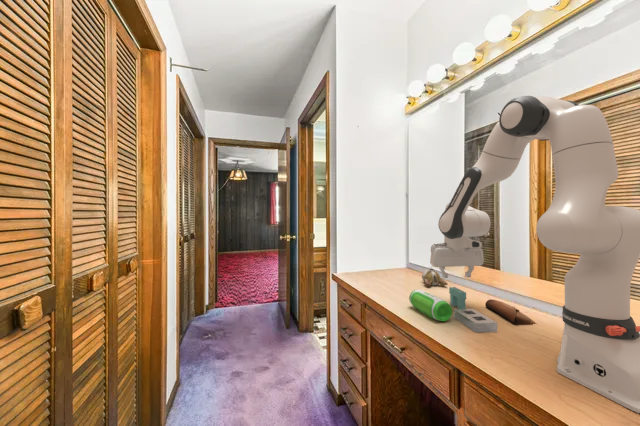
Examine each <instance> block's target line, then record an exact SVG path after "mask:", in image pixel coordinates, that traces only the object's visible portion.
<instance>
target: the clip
mask: <svg viewBox="0 0 640 426" xmlns="http://www.w3.org/2000/svg"><path fill="white" fill-rule="evenodd" d="M448 293H449V297H450V299H449V300H450V303H449V305H450V306H451V307H457V309H467V308H466V300H467V292H465V291H464V290H461V289H460V288H457V287H456V286H454V287H453V286H449V291H448Z"/></svg>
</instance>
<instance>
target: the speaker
mask: <svg viewBox="0 0 640 426" xmlns="http://www.w3.org/2000/svg"><path fill="white" fill-rule="evenodd" d="M408 299H409V302H410V304H411V305H412V306H413V308H415V309H417V310H418V311H420V312H421V313H422V314H424V315H426V317H429V318H430V319H434V320H436V321H439V322H447V321H449V320H450V319H451V317H452V316H453V308H452V305H450V303H449V302H447V300H444V299H443V298H440V297H438V296H436V295H434V294H432V293H430V292H427V291H425V290H422V289H413V290H412V291H411V292H410V294H409V296H408Z"/></svg>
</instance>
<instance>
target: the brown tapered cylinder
mask: <svg viewBox="0 0 640 426" xmlns="http://www.w3.org/2000/svg"><path fill="white" fill-rule="evenodd" d="M485 307H486V308H488V309H490V310H492V311H494V312H496V313H497V314H498V315H500V316H502V317H503V318H505V319H507V320H508V321H510V322H511V323H513V324H514V325H515V326H534V325H533V324H537V323H536V321H535V320H533V319H532V318H530V317H529V316H527V315H526V314H524V313H523V312H521V311H520V309H518V308H516V307H515V306H512V305H510V304H508V303H505V302H503V301H501V300H496V299H491V298H490V299H488V300H486V302H485Z"/></svg>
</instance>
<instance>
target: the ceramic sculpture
mask: <svg viewBox="0 0 640 426" xmlns="http://www.w3.org/2000/svg"><path fill="white" fill-rule="evenodd" d="M421 279H422V281H423V282H424V284H425V285H426V286H427V287H430V286H434V287H435V286H439V285H441V286H446V285H447V286H448V282H447V281H446V280H445V278H443V277H442V278H441V276H440V274H439V272H437V271H435V269H434V268H425V270H424V271H423V272H422V275H421Z"/></svg>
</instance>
